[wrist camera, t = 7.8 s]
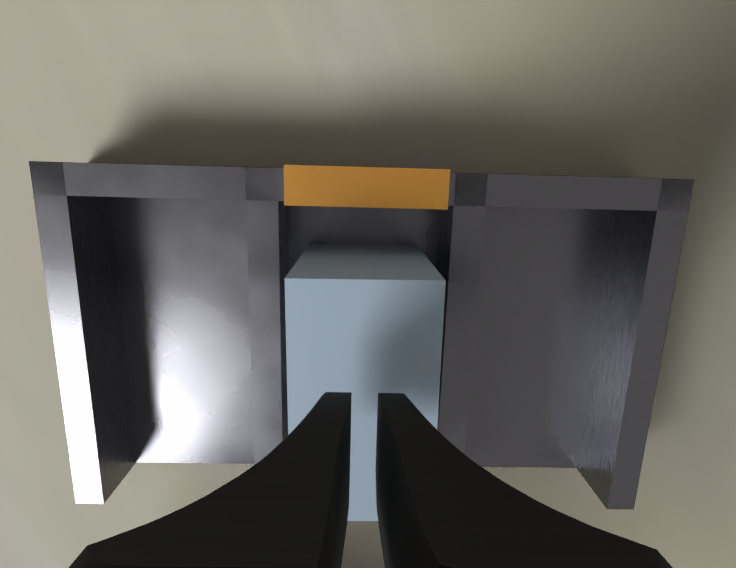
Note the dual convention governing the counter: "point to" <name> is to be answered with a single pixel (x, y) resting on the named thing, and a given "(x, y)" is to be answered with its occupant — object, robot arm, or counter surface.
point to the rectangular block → (363, 342)
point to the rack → (355, 226)
